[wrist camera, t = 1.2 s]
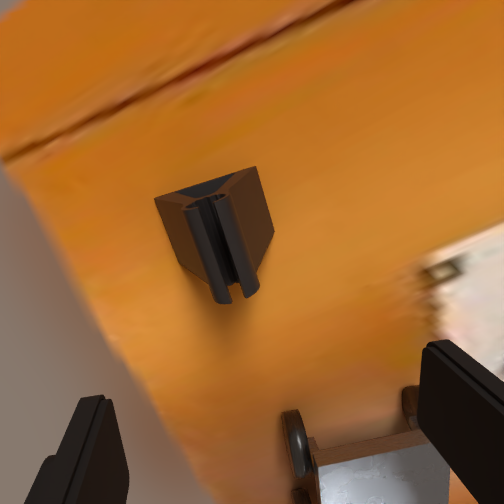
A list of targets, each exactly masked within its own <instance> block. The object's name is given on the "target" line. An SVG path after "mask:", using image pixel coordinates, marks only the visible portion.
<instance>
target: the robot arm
mask: <svg viewBox="0 0 504 504" xmlns="http://www.w3.org/2000/svg"><path fill="white" fill-rule="evenodd" d="M417 422H418V425H419V427H420V429H421V431H422V432H423V433H424V434H425V436H426V437H427V438H428V440H429V441H430V442H431V443H432V445H433V446H434V447H435V448H436V450H437V451H438V452H439V454H440V455H441V456H442V457H443V459H444V460H445V461H446V462H447V464H448V465H449V466H450V468H451V469H452V470H453V471H454V473H455V474H456V475H457V476H458V478H459V479H460V480H461V482H462V483H463V484H464V485H465V487H466V488H467V489H468V490H469V492H470V493H471V494H472V496H473V497H474V498H475V499H476V501H477V502H478V503H479V504H504V382H503V381H502V380H500V379H499V378H498V377H496V376H495V375H494V374H493V373H491V372H490V371H489V370H487V369H486V368H485V367H484V366H482V365H481V364H480V363H479V362H477V361H476V360H475V359H473V358H472V357H471V356H470V355H468V354H467V353H466V352H464V351H463V350H462V349H461V348H459V347H458V346H457V345H455V344H454V343H453V342H452V341H450V340H447V339H445V340H439V341H432V342H429V343H428V344H427V346H426V348H424V349H423V351H422V360H421V372H420V384H419V396H418V408H417ZM128 488H129V470H128V466H127V461H126V457H125V453H124V449H123V444H122V440H121V436H120V432H119V428H118V423H117V419H116V415H115V410H114V406H113V402H112V400H111V399H105V397H104V395H96V396H90V397H84V398H81V399H80V400H79V402H78V404H77V407H76V409H75V412H74V414H73V416H72V419H71V421H70V423H69V425H68V428H67V430H66V432H65V435H64V437H63V439H62V441H61V444H60V446H59V449H58V451H57V453H56V455H51V456H48V457H47V458H46V459H45V460H44V462H43V464H42V466H41V468H40V470H39V472H38V475H37V476H36V479H35V481H34V483H33V485H32V487H31V489H30V492H29V494H28V496H27V498H26V500H25V502H24V504H126V500H127V494H128Z"/></svg>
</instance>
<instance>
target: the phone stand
mask: <svg viewBox="0 0 504 504" xmlns="http://www.w3.org/2000/svg"><path fill="white" fill-rule="evenodd" d="M154 200H155V203H156V205H157V208H158V210H159V213H160V215H161V218H162V221H163V223H164V226H165V228H166V231H167V233H168V236H169V239H170V241H171V244H172V246H173V249H174V251H175V254H176V257H177V259H178V262H179V263H180V264H181V265H183V266H184V267H185V268H187V269H188V270H190V271H191V272H192V273H194V274H195V275H196V276H198V277H199V278H201V279H202V280H203V281H205V282H206V283H207V284H208V285H209V287H210V290H211V293H212V296H213V298H214V301H215V302H216V303H219V304H231V303H232V298H231V296H230V293H229V290H228V287H227V286H230V285H232V284H234V283H240V286H241V288H242V291H243V294H244V297H245V298H248V297H250V296H252V295H253V294H254V293H256V292H257V290H258V289H259V287H260V284H259V281H258V278H257V275H256V272H257V269H258V267H259V265H260V263H261V261H262V258H263V256H264V254H265V252H266V250H267V247H268V245H269V243H270V241H271V239H272V236H273V234H274V232H275V231H274V227H273V224H272V220H271V217H270V213H269V210H268V206H267V203H266V199H265V196H264V192H263V189H262V186H261V182H260V179H259V175H258V172H257V168H256V166H253V167H250V168H247V169H244V170H241V171H237V172H234V173H231V174H228V175H225V176H222V177H219V178H215V179H212V180H209V181H207V182H203V183H200V184H197V185H193V186H190V187H187V188H184V189H181V190H178V191H175V192H172V193H168V194H165V195H162V196H159V197H156V198H154Z"/></svg>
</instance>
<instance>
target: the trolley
mask: <svg viewBox="0 0 504 504" xmlns="http://www.w3.org/2000/svg"><path fill="white" fill-rule="evenodd" d="M418 396H419V385H415V386H410V387H406V388H405V389H404V390H403V393H402V404H403V409H404V413H405V417H406V420H407V423H408V425H409V427H410V429H411V431H409V432H404V433H399V434H395V435H390V436H385V437H381V438H376V439H371V440H366V441H362V442H357V443H352V444H348V445H343V446H338V447H333V448H329V449H324V450H318V447H317V444H316V441H315V439H314V437H311V438H307V435H306V431H305V428H304V424H303V421H302V418H301V415H300V413H299V411H298V409H296V410H291V411H286V412H282V424H283V431H284V437H285V442H286V447H287V452H288V456H289V461H290V465H291V468H292V472H293V475H294V478H295V479H300V478H305V477H309V476H312V475H313V473H314V476H315V482H316V492H317V502H318V504H448V501H449V480H450V466H449V465H448V464H447V462H446V461H445V460H444V459H443V457H442V456H441V455H440V454H439V452H438V451H437V450H436V448H435V447H434V446H433V445H432V443H431V442H430V441H429V440H428V438H427V437H426V436H425V434H424V433H423V432H422V431H421V429H420V427H419V425H418V422H417V408H418ZM292 501H293V504H311V501H310V497H309V494H308V492H307V489H306V488H303V489H299V490H294V491H292Z"/></svg>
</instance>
